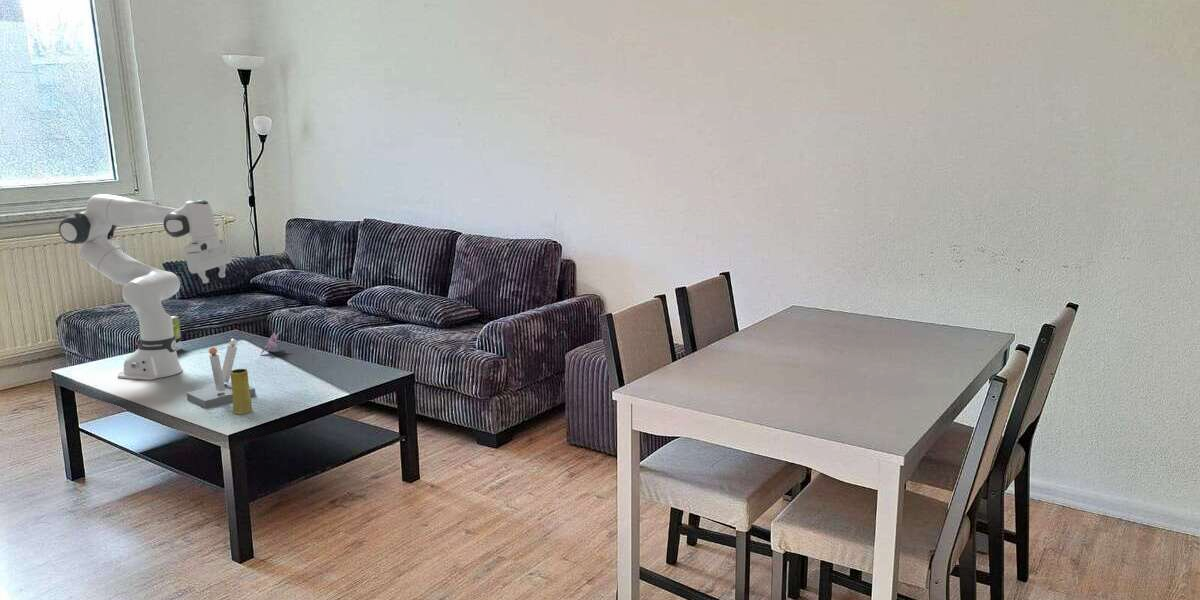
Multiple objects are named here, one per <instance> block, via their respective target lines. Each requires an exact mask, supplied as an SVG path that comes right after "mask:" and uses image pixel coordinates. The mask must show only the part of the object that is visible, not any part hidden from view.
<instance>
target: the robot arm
mask: <svg viewBox="0 0 1200 600" xmlns="http://www.w3.org/2000/svg"><path fill="white" fill-rule="evenodd" d="M154 223H155V224H156V223H163V228H164V230H165V231H164V232H165V233H166V234H167V235H168V236H170V237H173V238H185V237H187V236H190V237H191V240H190V242H189V243H188V244H187V245H185V246H184V248H183V251H184V253H185V254H186V255H185V260H186V264H187V268H188V271H189V272H190V274H197V275H198V277H199V278H200V279H201V280H202V284H208V283H209V282H210V279H209V277H207V276H206V271H208V270H213V269H214V268H218V269H219V272H218V273H217V274H218V277H219V278H220V279H223V278H225V277H226V268H227V267H226V265H227V264H230V263H232V259H233V258H232V255H231V252H230V250H229V247H228V245H227V243H226V241H225V240H223V239H219V234H218V231H217V229H216V220H215V217H214V212H213V209H212V206H211V205H210V203H209V202H208V201H206V200H204V199H190V200H186V202H185V203H184V205H183V206H181V207H175V206H174V207H173V206H169V205H168V206H167V205H163V204H162V205H161V204H156V203H151V202H145V201H141V200H138V199H134V198H129V197H125V196H120V195H115V194H102V193H101V194H95V195H92V196H91V197H89V199H88V200H87V202H86V207H85V210H83V211H80V212H75V213H73V214H70V215H68V216H67V217H65V218H63V220H60V223H59V225H58V232H59V234H60V237H61V238H62V240H64V241H65V242H66V243H68V244H72V245H76V244H77V245H78V244H79V245H80V244H82V245H81V246H80V248H79V249H80V250H79V255H80V257H81V259H82V260H84V261H85V262H86V263H87V264H88V265H89V266H90V267H91V268H92V269H94V270H96V271H97V272H98V273H100V274H101V275H103V276H105V277H106V278H108V279H109V280H110V281H112V282H114V283H115V284H118V285H122V286H123V288H122V289H121V295H122V298H123V300H124V302H126V304H127V305H129V306H130V307H132V309H134V311H135V314H136V316H137V319H138V321H139V323H140V329H141V336H142V339H140V338H139V340H138V341H136V342H135V346H138V348H137V349H136V350H135V351H133V353H131V354H130V355H129V356H128V357H126V359H125V360H124V363H123V370H121V371H120V372H118V374H117V378H119V379H133V380H147V381H148V380H149V381H151V380H156V379H160V378H165V377H169V376H170V377H171V376H174V375H177V374H179V373H181V372H183V368H182V365H181V364H180V360H179V357H178V352H177V351H176V339H175V336H174V333H173V325H172V318H171V316H172V315H170V313H168V312H166V311H165V309H164V306H163V303H162V301H164V300H168V299H171V297H173V296H174V295H176V294H177V293H178V292H179V290H180V288H181V281H180V278H179V277H178V275H176V274H175V272H172V271H167V270H163V269H159V268H157V267H154V266H152V265H149V264H146V263H143V262H141V261H140V260H137V259H136V258H133V257H132V256H130V255H129V254H127V253H125V252H124V251H122V250H121V249H119V248H118V247H116V246H114V244H112V243H110V241H109V240H111V239H112V238H113V237H114V236H115V234H114V233H115V230H116V229H117V227H123V228H124V227H126V228H128V227H129V228H130V227H131V228H132V227H137V226H143V225H148V224H154Z"/></svg>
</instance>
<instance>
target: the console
mask: <svg viewBox="0 0 1200 600" xmlns="http://www.w3.org/2000/svg"><path fill="white" fill-rule="evenodd" d="M224 385H225V391H222V392H220V391H218V390H216V386H215V385H214V386H208V387H206V388H202V389H197V390H194V391H189V392H186V399H187V401H190V402H192V403H194V404H196V405H199V406H200V407H202V408H205V409H207V408H211V407H216V406H219V405H222V404H226V403H231V402H233V393H232V384H231V381H229V383H226V382H225V383H224ZM249 390H250V397H254V396H256V394H257V393H256V388H255V387H252V386H250V385H249Z"/></svg>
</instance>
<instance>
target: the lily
mask: <svg viewBox="0 0 1200 600" xmlns="http://www.w3.org/2000/svg"><path fill="white" fill-rule="evenodd" d="M281 332H282V331H281V330H280V331H278V332H277V334H276V333H275V332H273V333H272V334H271V336H270V338H269V340H268V342H267V344H266V345H265V347H264V348H263V349H262V351H261V353H260V354H259V355H260V356H261V355H262V354H263V353H264V352H265V351H266V350H267V352H270V349H272V348H274V347H277V349H279V351H280V353H282V354H283V353H284V352H283V351H282V349H281V348H280V347H279V346H278V345H277V339H278V337H279V336H278V335H280V333H281Z"/></svg>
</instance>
